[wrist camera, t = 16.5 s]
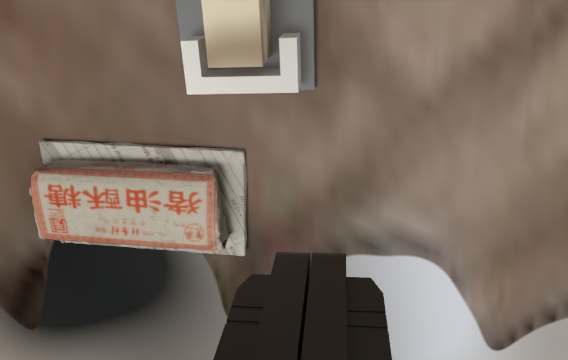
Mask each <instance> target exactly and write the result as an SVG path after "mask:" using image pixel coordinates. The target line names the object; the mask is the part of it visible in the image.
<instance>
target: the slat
mask: <svg viewBox="0 0 568 360" xmlns="http://www.w3.org/2000/svg"><path fill="white" fill-rule="evenodd" d="M201 3H202V13H203V23H204V32H205V42H206V52H207V61H208V68H226V67H263V66H264V64H265V63H266V62H267V61H268V59H269V58H270V57H271V56H272V39H271V19H270V0H201Z"/></svg>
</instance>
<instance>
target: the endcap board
mask: <svg viewBox="0 0 568 360" xmlns="http://www.w3.org/2000/svg"><path fill="white" fill-rule="evenodd" d="M175 2H176V10H177V18H178V26H179V34H180V42H181V50H182V58H183V67H184V75H185V83H186V91H187V94H243V93H298V92H299V90H315V40H314V0H270V19H271V39H272V56H271V57H270V58H269V59H268V61H267V62H266V63H265V64H264V66H263V67H226V68H208V61H207V52H206V42H205V32H204V23H203V13H202V3H201V0H175Z"/></svg>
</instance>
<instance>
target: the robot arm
mask: <svg viewBox="0 0 568 360" xmlns="http://www.w3.org/2000/svg"><path fill="white" fill-rule="evenodd" d="M387 329H388V328H387V320H386V315H385V305H384V297H383V293H382V292H381V290H380V289H379V288H378V286H377V285H376V284H375V283H374V281H373V280H372V279H371V278H358V277H346V254H340V253H312V261H311V258H310V253H295V252H277V253H276V256H275V260H274V264H273V268H272V272H271V275H258V274H252V275H251V276H250V277H249V278H248V279H247V280H246V281H245V282H244V283H242V284H241V285H240V286H239V287H238V288H237V291H236V294H235V297H234V300H233V303H232V308H231V309H230V312H229V315H228V318H227V324H225V327H224V330H223V333H222V336H221V339H220V342H219V344H218V347H217V351H216V353H215V356H214V360H392V357H391V349H390V342H389V334H388V330H387Z"/></svg>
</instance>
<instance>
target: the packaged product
mask: <svg viewBox="0 0 568 360" xmlns="http://www.w3.org/2000/svg"><path fill="white" fill-rule="evenodd" d="M39 145H40V150H41V156H42V161H43V165H44V167H39V168H37V169H35V170H34V173H33V174H32V176H31V187H30V189H29V193H30V195H31V196H32V199H33V206H34V210H35V213H34V216H35V222H36V223H37V228H38V236H39V238H40V239H53V240H60V241H61V242H62V243H66V242H67V243H68V242H72V243H83V244H95V245H107V246H122V247H135V248H149V249H159V250H172V251H188V252H196V253H210V254H222V255H237V256H245V251H246V242H247V229H246V190H247V172H246V162H245V154H244V150H235V149H224V148H203V147H191V148H184V147H171V146H158V145H142V144H134V143H95V142H84V141H46V140H40V141H39Z"/></svg>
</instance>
